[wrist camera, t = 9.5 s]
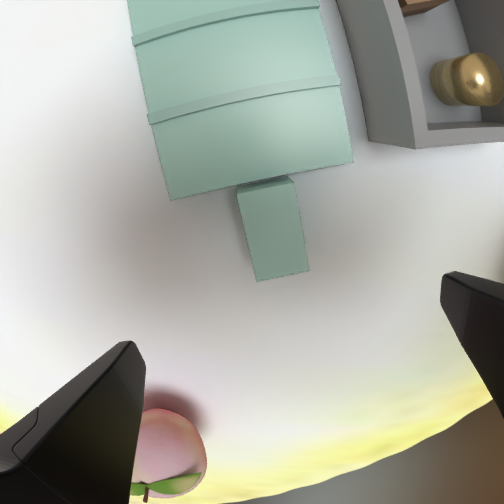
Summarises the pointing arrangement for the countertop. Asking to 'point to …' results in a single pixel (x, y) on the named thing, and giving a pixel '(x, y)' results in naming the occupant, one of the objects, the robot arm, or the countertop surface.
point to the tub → (422, 69)
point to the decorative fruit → (167, 456)
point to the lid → (243, 109)
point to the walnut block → (418, 6)
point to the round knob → (467, 81)
